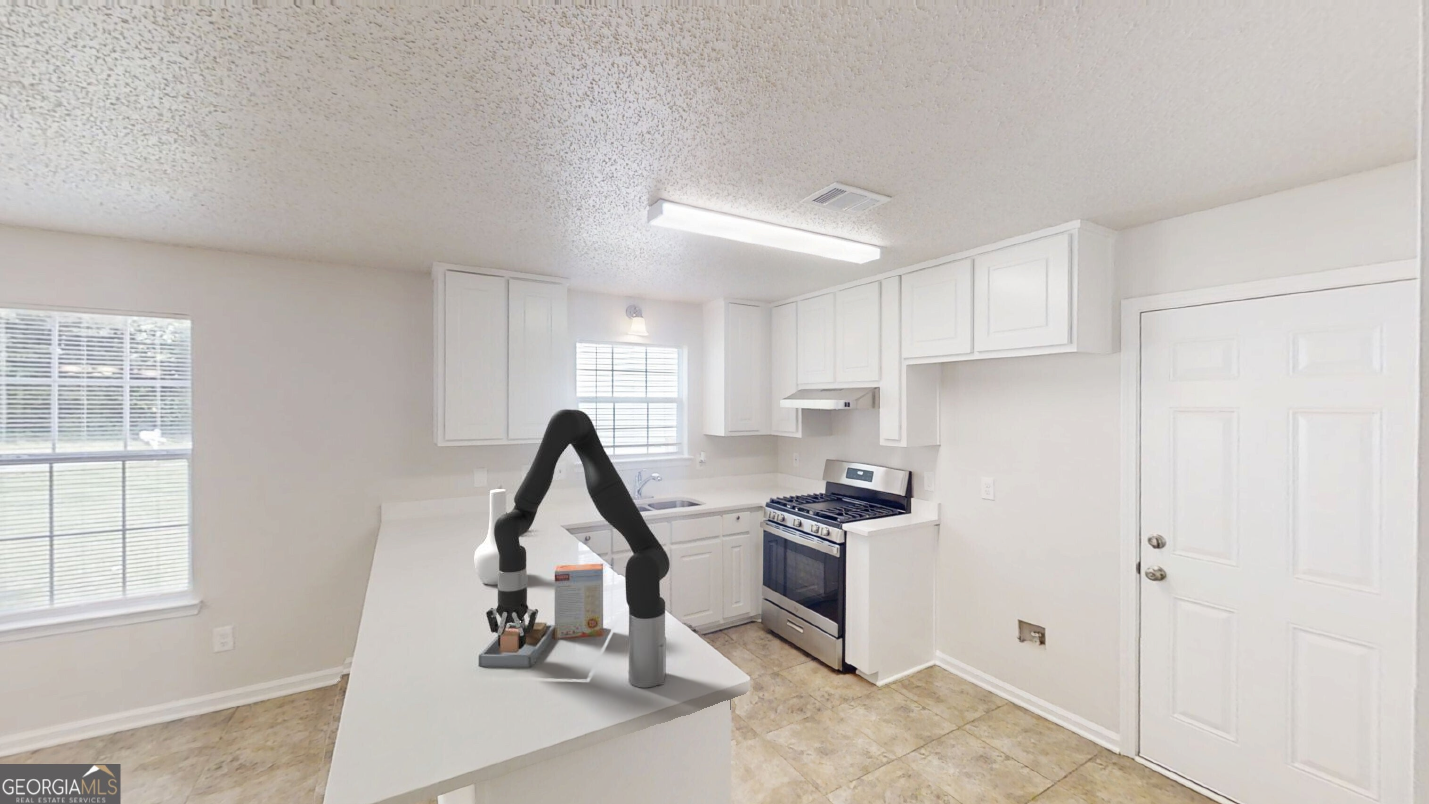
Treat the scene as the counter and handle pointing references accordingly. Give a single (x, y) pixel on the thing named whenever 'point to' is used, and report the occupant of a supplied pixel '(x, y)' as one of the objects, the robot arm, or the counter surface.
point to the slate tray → (519, 659)
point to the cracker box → (578, 601)
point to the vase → (491, 542)
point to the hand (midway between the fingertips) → (512, 647)
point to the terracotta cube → (509, 641)
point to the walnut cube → (536, 633)
